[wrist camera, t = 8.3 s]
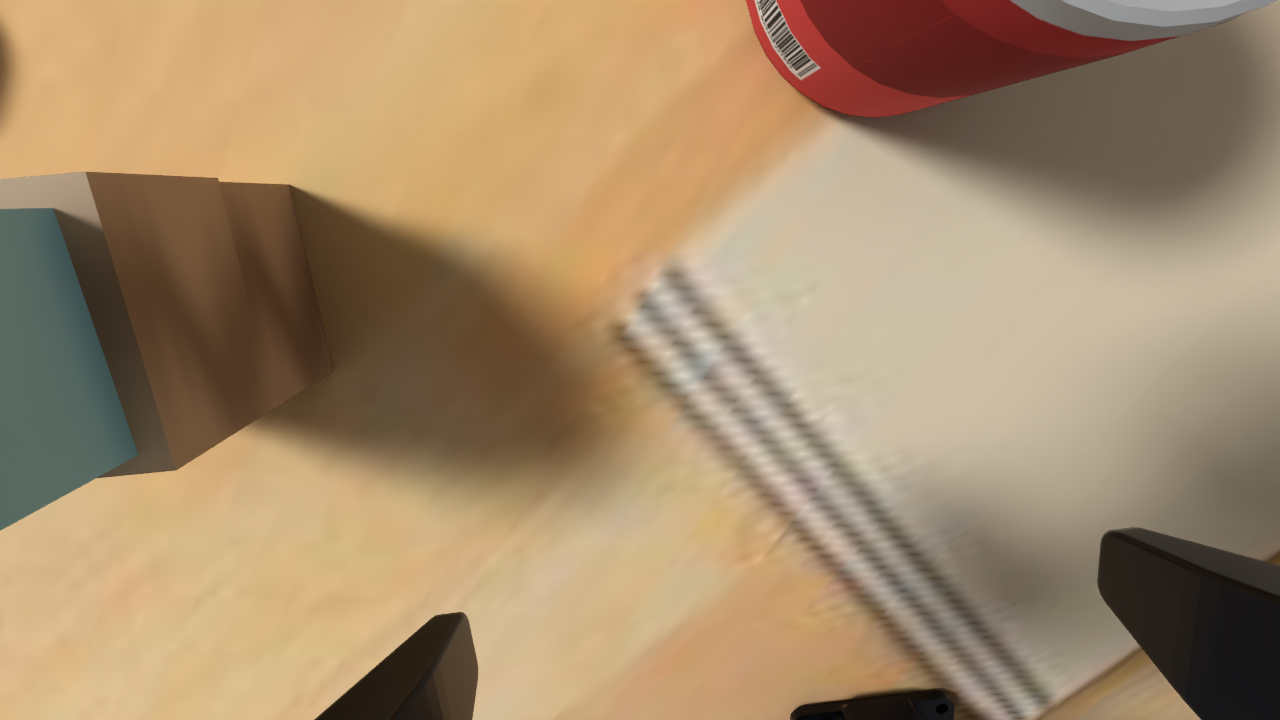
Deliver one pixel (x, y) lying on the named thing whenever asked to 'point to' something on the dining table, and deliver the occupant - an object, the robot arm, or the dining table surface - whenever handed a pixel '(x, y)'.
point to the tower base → (277, 285)
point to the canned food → (957, 43)
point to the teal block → (50, 373)
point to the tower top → (160, 305)
